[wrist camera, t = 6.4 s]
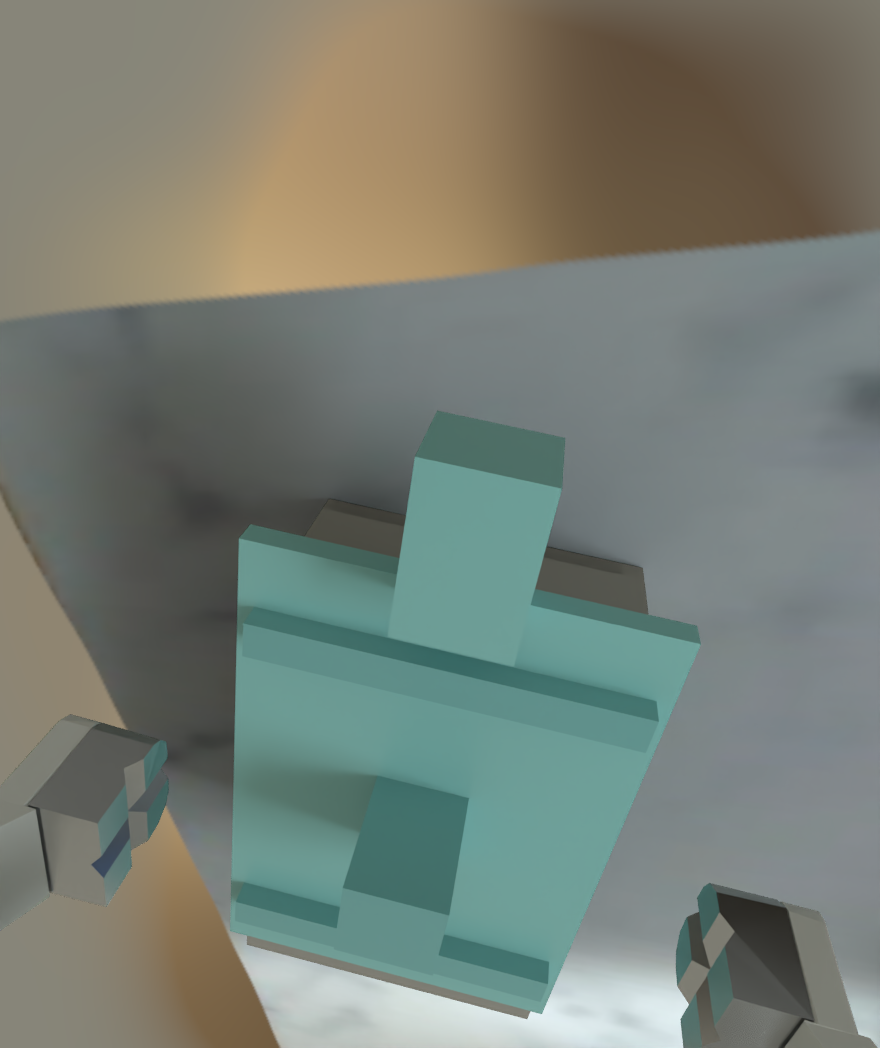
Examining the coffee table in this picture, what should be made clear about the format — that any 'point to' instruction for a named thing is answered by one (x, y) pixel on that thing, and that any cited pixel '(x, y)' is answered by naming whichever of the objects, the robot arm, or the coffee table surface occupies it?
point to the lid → (439, 730)
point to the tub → (555, 576)
